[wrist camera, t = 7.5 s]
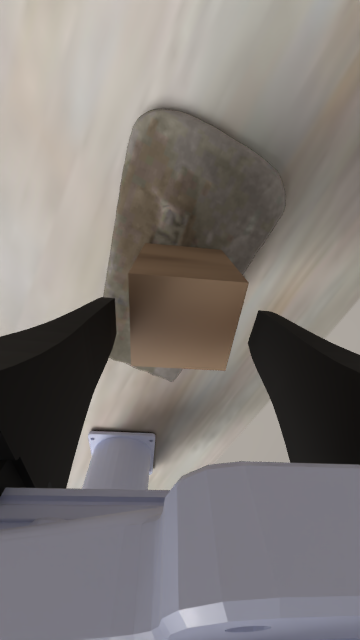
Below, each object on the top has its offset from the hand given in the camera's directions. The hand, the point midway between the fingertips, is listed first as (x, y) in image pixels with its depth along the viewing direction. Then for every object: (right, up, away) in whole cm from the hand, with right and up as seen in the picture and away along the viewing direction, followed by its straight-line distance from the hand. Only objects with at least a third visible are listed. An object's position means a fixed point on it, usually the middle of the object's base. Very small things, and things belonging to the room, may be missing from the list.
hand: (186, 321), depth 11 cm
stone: (-1, +4, +6) cm, 7 cm away
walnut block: (0, +3, +4) cm, 5 cm away
